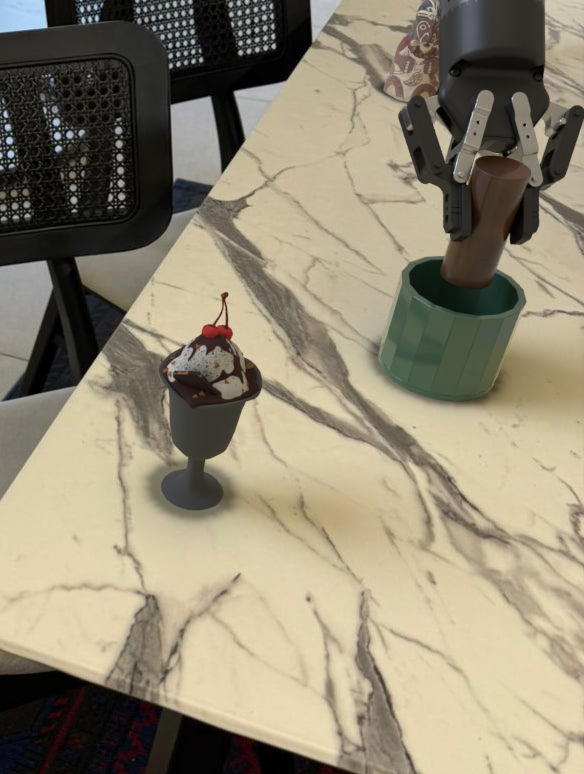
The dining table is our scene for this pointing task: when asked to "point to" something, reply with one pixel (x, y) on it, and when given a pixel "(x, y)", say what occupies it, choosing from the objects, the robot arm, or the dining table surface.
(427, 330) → the crock
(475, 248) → the pestle
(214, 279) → the dining table surface
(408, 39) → the figurine
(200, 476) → the sundae
